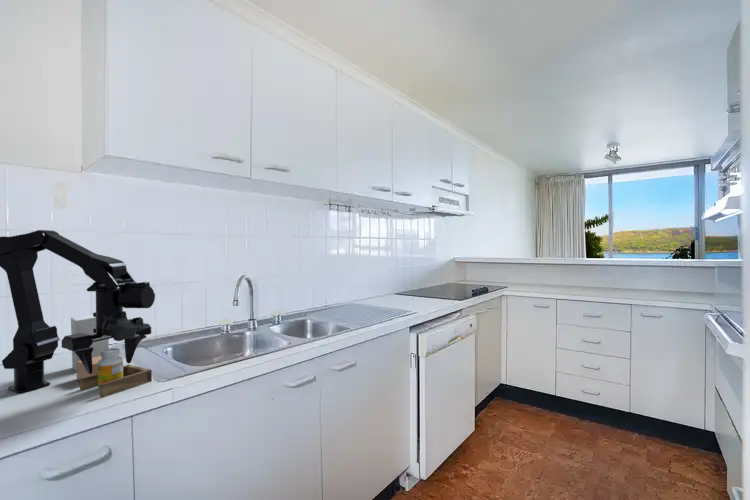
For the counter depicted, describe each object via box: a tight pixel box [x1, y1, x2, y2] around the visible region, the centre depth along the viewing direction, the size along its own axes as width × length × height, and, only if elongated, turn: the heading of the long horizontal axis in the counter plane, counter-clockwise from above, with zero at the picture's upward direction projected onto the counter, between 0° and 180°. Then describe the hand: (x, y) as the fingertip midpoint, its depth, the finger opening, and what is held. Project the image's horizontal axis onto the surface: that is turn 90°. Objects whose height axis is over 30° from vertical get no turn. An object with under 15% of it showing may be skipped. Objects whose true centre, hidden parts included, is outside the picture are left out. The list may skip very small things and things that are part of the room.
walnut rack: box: [79, 364, 153, 398], centre depth 98 cm, size 10×12×3 cm
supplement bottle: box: [97, 347, 124, 391], centre depth 96 cm, size 5×5×10 cm
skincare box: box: [70, 314, 110, 372], centre depth 112 cm, size 8×7×16 cm
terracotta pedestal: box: [76, 356, 102, 381], centre depth 103 cm, size 7×7×5 cm
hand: (110, 368), depth 96 cm, fingers open, 9 cm apart
